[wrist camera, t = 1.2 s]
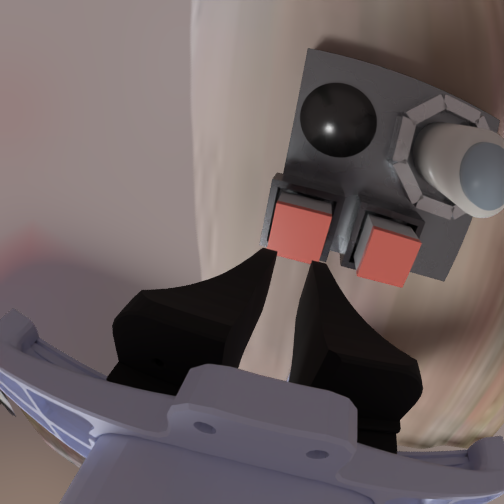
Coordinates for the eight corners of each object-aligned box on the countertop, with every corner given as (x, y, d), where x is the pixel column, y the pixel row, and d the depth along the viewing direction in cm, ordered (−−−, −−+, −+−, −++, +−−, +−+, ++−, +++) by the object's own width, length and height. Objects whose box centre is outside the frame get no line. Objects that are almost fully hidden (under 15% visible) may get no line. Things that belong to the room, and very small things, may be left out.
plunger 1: (318, 247, 19) (317, 265, 17) (272, 235, 19) (266, 252, 17) (330, 203, 17) (331, 217, 15) (282, 191, 18) (276, 203, 15)
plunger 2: (394, 267, 18) (402, 287, 16) (353, 256, 18) (357, 276, 16) (410, 226, 17) (421, 243, 14) (368, 213, 17) (374, 228, 15)
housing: (436, 268, 21) (452, 295, 17) (269, 223, 23) (259, 245, 19) (486, 118, 15) (514, 122, 11) (303, 53, 16) (298, 39, 13)
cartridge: (458, 195, 16) (505, 233, 11) (405, 175, 17) (441, 206, 11) (475, 136, 14) (531, 152, 8) (421, 112, 15) (467, 114, 9)
